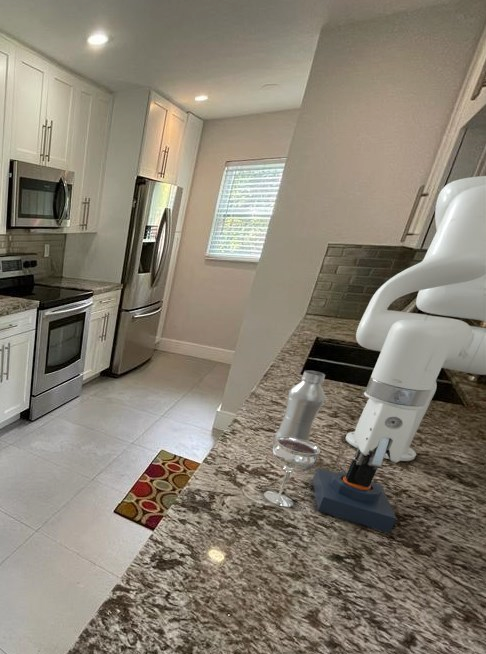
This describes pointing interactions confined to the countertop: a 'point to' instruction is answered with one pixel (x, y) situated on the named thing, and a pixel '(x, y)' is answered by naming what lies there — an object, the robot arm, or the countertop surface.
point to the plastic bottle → (302, 406)
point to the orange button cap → (355, 485)
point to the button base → (352, 501)
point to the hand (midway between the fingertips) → (356, 482)
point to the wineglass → (291, 463)
